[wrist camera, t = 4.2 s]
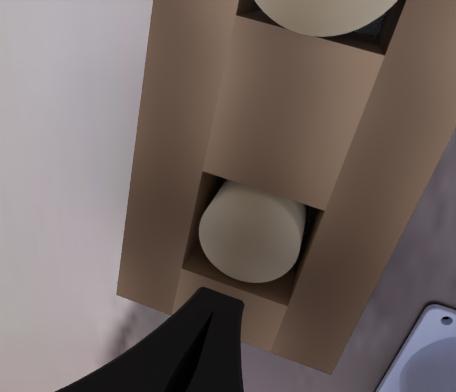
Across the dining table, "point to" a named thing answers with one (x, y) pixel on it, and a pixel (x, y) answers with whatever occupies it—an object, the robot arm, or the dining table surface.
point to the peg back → (252, 232)
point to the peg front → (324, 14)
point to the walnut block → (286, 157)
